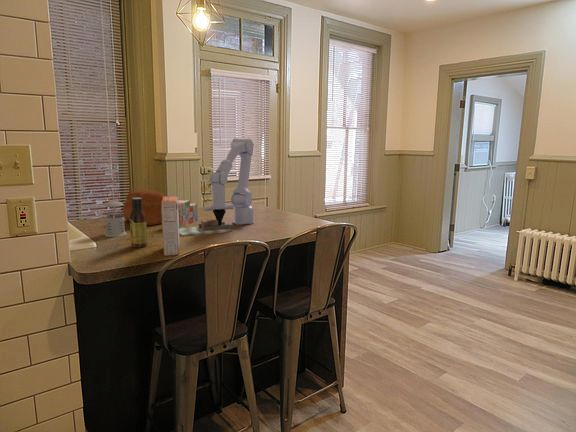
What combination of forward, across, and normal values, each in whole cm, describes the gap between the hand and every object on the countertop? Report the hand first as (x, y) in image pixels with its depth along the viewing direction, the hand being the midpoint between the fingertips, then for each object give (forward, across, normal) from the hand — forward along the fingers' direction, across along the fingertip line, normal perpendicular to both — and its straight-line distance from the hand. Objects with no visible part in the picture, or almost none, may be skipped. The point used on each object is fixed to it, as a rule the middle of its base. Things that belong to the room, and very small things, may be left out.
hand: (219, 224), depth 201 cm
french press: (+3, -46, +10) cm, 47 cm away
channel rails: (+2, -3, 0) cm, 3 cm away
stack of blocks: (+3, -12, +20) cm, 24 cm away
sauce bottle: (+3, -40, -17) cm, 44 cm away
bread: (+3, -28, +33) cm, 43 cm away
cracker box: (+3, -30, -30) cm, 43 cm away
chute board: (+2, -8, 0) cm, 9 cm away
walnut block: (+2, -5, 0) cm, 5 cm away
